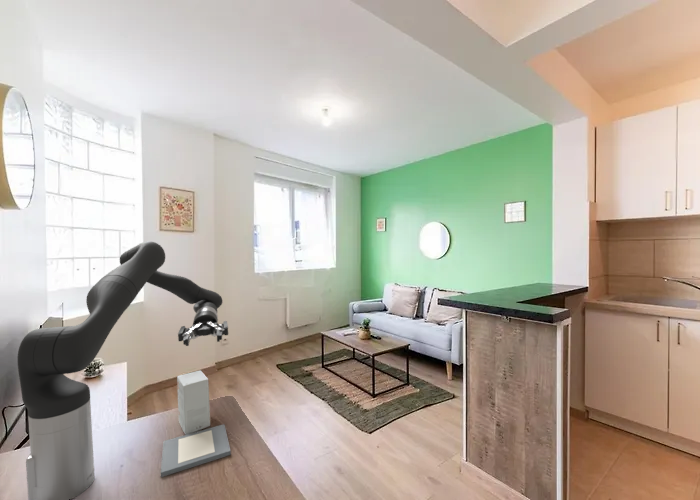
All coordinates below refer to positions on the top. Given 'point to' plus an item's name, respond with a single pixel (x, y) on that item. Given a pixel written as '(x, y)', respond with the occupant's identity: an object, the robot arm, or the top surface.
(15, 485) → the top surface
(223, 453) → the base board
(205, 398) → the small box
